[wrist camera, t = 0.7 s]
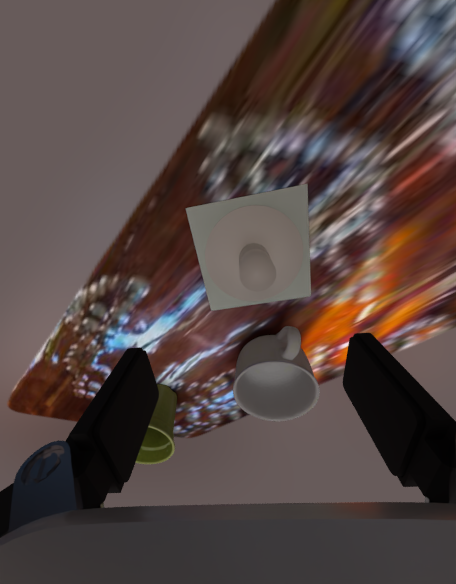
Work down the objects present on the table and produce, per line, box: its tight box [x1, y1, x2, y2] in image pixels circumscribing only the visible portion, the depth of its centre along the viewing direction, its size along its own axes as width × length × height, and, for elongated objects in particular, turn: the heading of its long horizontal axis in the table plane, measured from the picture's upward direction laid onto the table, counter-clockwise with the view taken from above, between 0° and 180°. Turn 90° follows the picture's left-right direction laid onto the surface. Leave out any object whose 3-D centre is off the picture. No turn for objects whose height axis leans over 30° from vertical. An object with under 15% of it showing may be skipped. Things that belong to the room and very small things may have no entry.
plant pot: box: [135, 384, 177, 464], centre depth 36 cm, size 9×9×9 cm
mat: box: [186, 184, 311, 311], centre depth 28 cm, size 14×14×1 cm
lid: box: [205, 205, 303, 301], centre depth 25 cm, size 12×12×7 cm
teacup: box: [233, 326, 319, 421], centre depth 31 cm, size 14×11×8 cm
